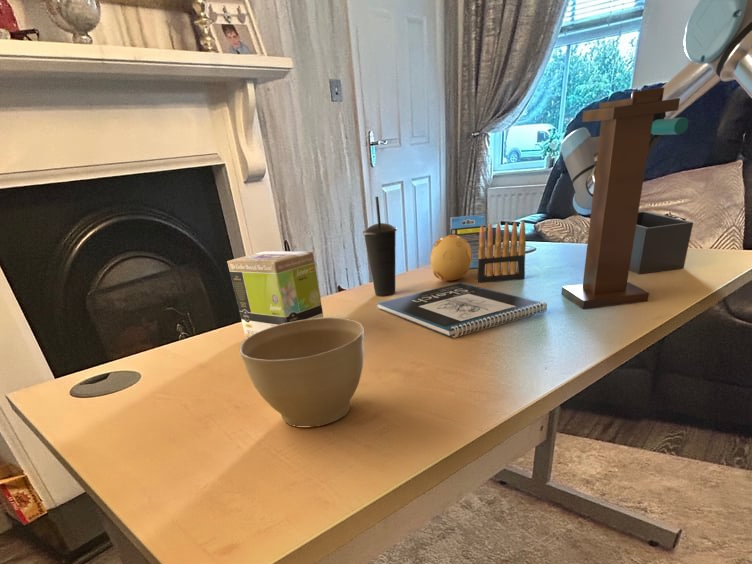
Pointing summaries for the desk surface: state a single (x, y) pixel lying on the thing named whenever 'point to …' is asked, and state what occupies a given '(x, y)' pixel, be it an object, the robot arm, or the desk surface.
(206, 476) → the desk surface
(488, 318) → the sketchbook
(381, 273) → the drinking cup
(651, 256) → the pen holder
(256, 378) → the planter bowl
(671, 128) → the marker
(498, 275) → the ammunition clip
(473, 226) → the label tape box
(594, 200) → the headphone stand
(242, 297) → the tea box
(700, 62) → the robot arm
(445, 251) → the stress ball
